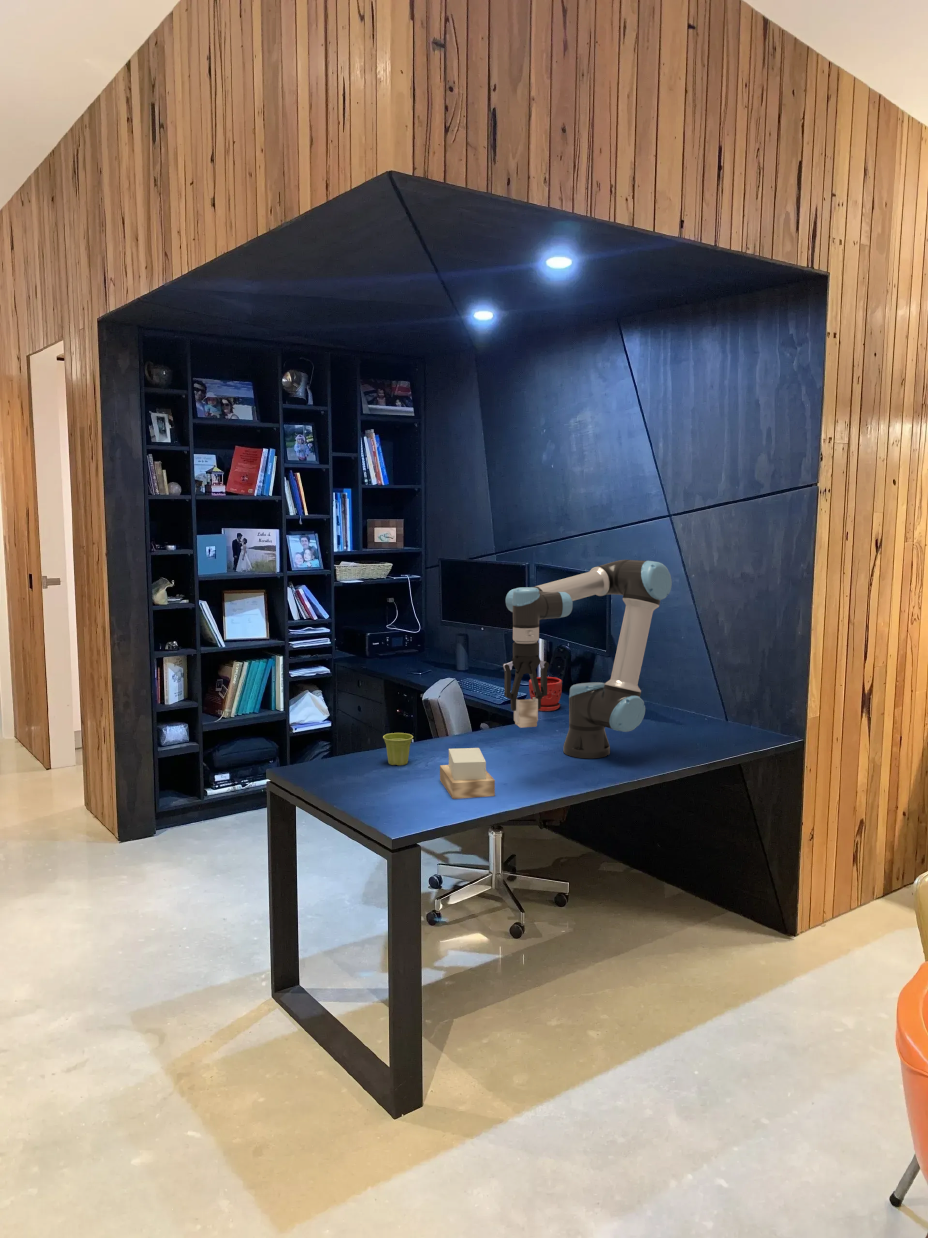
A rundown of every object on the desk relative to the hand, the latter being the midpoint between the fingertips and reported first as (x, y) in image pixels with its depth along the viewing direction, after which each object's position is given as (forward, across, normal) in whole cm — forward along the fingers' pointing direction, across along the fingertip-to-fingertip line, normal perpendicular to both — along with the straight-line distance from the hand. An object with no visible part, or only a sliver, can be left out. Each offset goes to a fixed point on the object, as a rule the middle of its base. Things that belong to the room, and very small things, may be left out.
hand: (525, 720), depth 265 cm
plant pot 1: (+19, -32, +30) cm, 48 cm away
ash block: (+1, 0, 0) cm, 1 cm away
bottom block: (+19, -18, 0) cm, 26 cm away
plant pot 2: (+19, +39, +91) cm, 101 cm away
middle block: (+14, -18, 0) cm, 23 cm away
